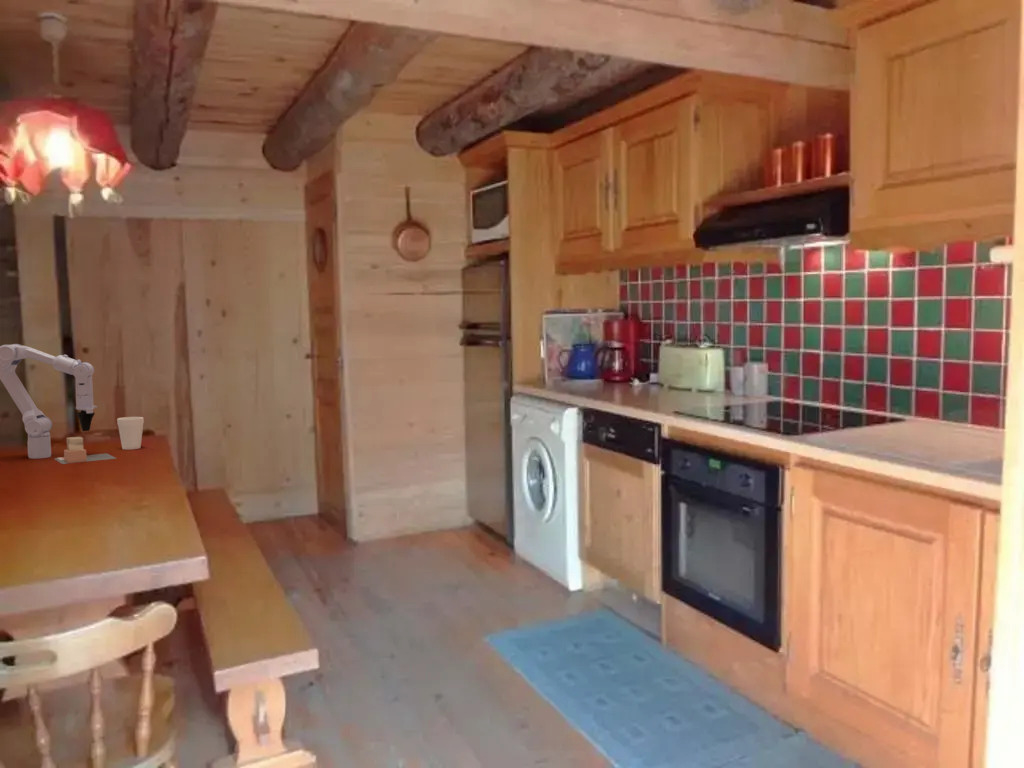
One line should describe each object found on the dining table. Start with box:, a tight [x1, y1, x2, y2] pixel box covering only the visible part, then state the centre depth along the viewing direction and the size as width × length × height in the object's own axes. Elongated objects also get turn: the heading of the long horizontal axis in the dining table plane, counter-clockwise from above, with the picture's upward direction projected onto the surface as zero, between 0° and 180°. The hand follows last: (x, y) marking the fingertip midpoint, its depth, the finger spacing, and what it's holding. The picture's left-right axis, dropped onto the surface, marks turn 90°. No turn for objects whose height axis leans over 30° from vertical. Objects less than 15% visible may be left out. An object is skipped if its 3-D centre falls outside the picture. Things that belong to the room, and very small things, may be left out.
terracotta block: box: [63, 448, 88, 464], centre depth 289 cm, size 6×6×4 cm
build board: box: [53, 452, 117, 465], centre depth 294 cm, size 14×18×1 cm
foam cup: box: [116, 416, 145, 450], centre depth 318 cm, size 10×9×13 cm
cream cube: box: [66, 436, 84, 451], centre depth 288 cm, size 4×4×4 cm
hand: (85, 430), depth 300 cm, fingers closed
